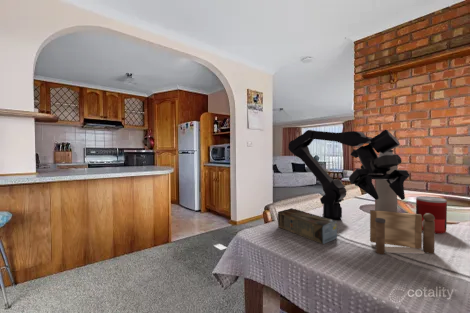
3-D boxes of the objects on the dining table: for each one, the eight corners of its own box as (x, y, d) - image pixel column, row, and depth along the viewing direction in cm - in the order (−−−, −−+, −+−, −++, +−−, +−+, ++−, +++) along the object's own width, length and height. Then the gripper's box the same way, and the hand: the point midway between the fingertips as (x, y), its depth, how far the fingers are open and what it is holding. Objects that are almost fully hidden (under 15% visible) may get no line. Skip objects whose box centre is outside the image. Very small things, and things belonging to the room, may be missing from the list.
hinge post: (425, 253, 60) (426, 214, 60) (421, 249, 63) (421, 211, 62) (436, 254, 60) (436, 214, 59) (431, 250, 62) (431, 212, 62)
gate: (419, 246, 62) (420, 214, 62) (421, 248, 61) (421, 215, 61) (370, 240, 67) (370, 210, 67) (370, 242, 66) (370, 211, 66)
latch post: (376, 254, 60) (377, 220, 60) (374, 250, 62) (374, 217, 62) (386, 255, 60) (386, 220, 59) (383, 251, 62) (383, 218, 62)
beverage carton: (322, 245, 66) (322, 223, 66) (276, 227, 82) (276, 210, 82) (338, 239, 71) (337, 218, 71) (291, 223, 87) (291, 206, 87)
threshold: (386, 252, 61) (386, 250, 61) (380, 248, 64) (380, 246, 64) (424, 253, 60) (424, 252, 60) (417, 249, 63) (417, 247, 63)
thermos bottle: (372, 214, 96) (372, 149, 96) (378, 211, 102) (378, 149, 101) (394, 218, 90) (395, 149, 90) (399, 214, 96) (399, 149, 95)
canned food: (452, 234, 73) (452, 201, 73) (424, 233, 75) (424, 200, 74) (436, 226, 81) (436, 196, 80) (411, 225, 82) (411, 195, 82)
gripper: (358, 144, 73) (379, 185, 64) (408, 146, 76) (436, 186, 66) (341, 164, 82) (358, 203, 73) (387, 165, 84) (409, 203, 75)
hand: (390, 199), depth 71 cm, fingers open, 9 cm apart
